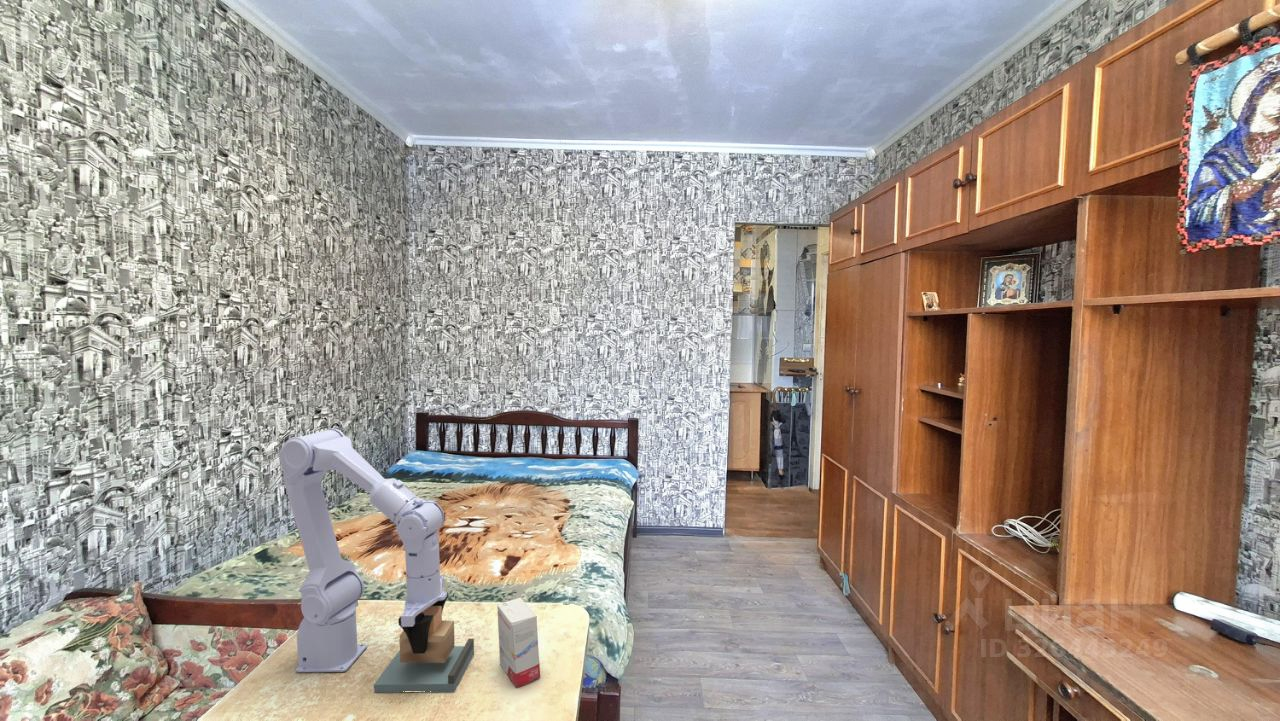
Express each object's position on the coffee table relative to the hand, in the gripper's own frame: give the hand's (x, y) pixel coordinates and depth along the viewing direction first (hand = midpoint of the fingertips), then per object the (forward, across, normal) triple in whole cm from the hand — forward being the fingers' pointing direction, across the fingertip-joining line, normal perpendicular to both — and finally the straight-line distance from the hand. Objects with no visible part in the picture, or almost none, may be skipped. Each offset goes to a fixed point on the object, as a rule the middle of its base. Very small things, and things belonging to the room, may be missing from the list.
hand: (425, 643), depth 98 cm
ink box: (+6, 0, -17) cm, 18 cm away
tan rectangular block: (+2, 0, 0) cm, 2 cm away
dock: (+6, 0, 0) cm, 6 cm away
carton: (-3, 0, 0) cm, 3 cm away
